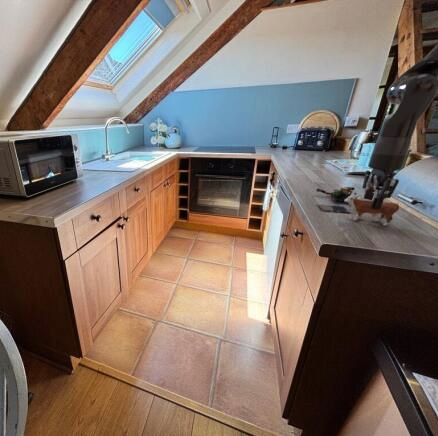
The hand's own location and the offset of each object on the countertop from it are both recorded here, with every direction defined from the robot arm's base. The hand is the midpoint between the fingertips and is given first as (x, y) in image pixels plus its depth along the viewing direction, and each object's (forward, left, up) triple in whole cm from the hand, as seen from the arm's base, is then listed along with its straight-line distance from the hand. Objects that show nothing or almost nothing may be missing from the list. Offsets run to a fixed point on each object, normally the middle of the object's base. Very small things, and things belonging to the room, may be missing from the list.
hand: (370, 206), depth 78 cm
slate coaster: (+6, -10, -5) cm, 13 cm away
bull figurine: (0, 0, -6) cm, 6 cm away
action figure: (-2, -24, -6) cm, 25 cm away
